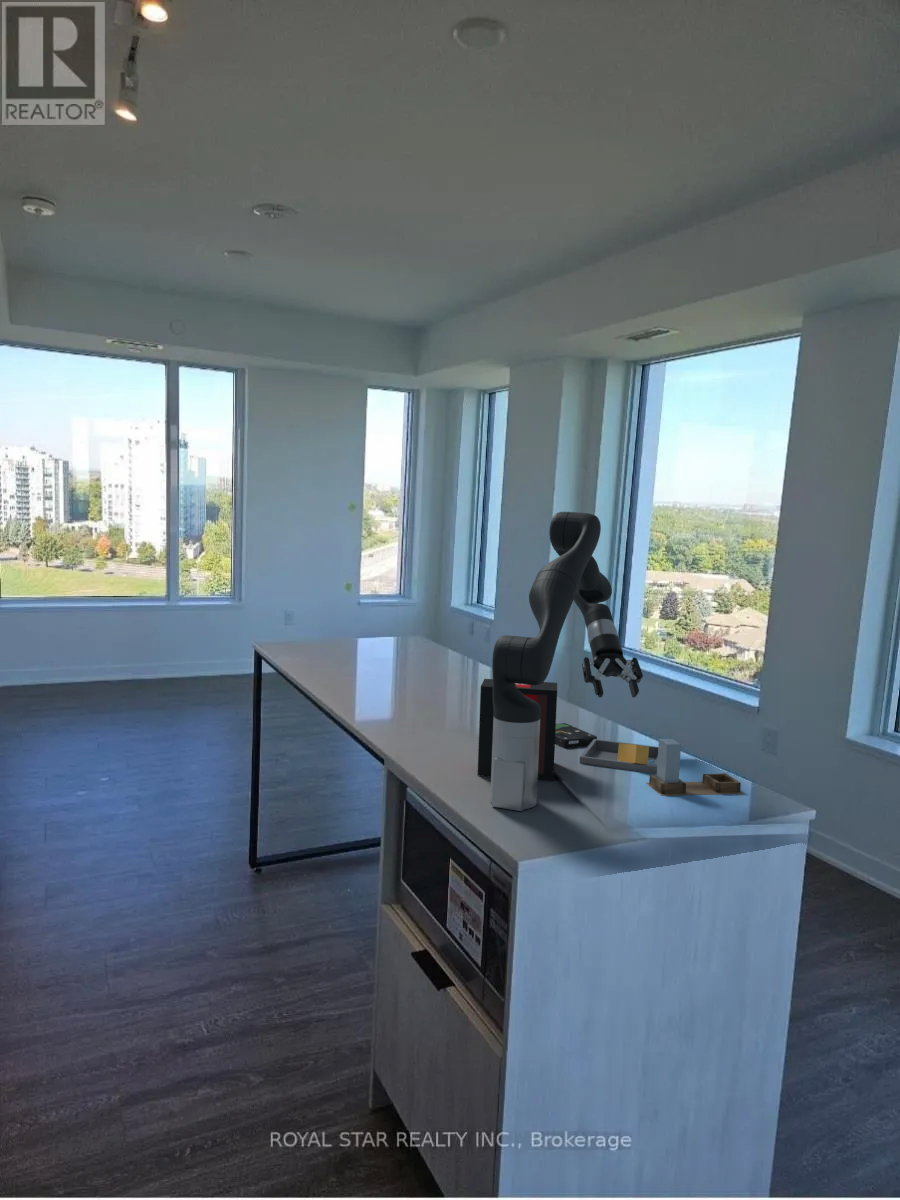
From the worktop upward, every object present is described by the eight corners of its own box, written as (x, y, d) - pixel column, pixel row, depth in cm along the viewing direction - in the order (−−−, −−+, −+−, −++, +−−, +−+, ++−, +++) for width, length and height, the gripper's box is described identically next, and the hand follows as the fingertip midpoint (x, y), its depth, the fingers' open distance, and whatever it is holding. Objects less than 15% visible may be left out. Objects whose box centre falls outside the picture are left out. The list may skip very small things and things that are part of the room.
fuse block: (743, 800, 160) (744, 784, 160) (661, 802, 157) (662, 785, 157) (724, 787, 168) (725, 772, 168) (645, 789, 165) (646, 773, 165)
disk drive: (597, 747, 199) (564, 732, 213) (598, 736, 199) (565, 722, 212) (563, 750, 195) (532, 735, 208) (564, 739, 195) (532, 725, 208)
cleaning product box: (553, 769, 178) (557, 682, 176) (553, 781, 169) (557, 690, 167) (481, 763, 180) (484, 678, 178) (477, 775, 171) (480, 686, 169)
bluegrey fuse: (678, 791, 160) (680, 744, 159) (664, 792, 159) (667, 744, 158) (669, 785, 164) (672, 738, 163) (656, 785, 163) (658, 739, 162)
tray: (655, 780, 172) (656, 766, 171) (579, 769, 178) (579, 756, 177) (663, 759, 187) (664, 747, 187) (593, 750, 194) (594, 738, 193)
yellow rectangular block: (629, 762, 183) (647, 764, 173) (617, 760, 182) (634, 763, 172) (630, 744, 183) (649, 746, 174) (618, 743, 183) (636, 744, 173)
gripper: (580, 632, 193) (593, 687, 183) (635, 632, 195) (651, 687, 185) (573, 649, 199) (585, 704, 189) (626, 649, 201) (641, 703, 191)
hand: (618, 695), depth 187 cm, fingers open, 8 cm apart
